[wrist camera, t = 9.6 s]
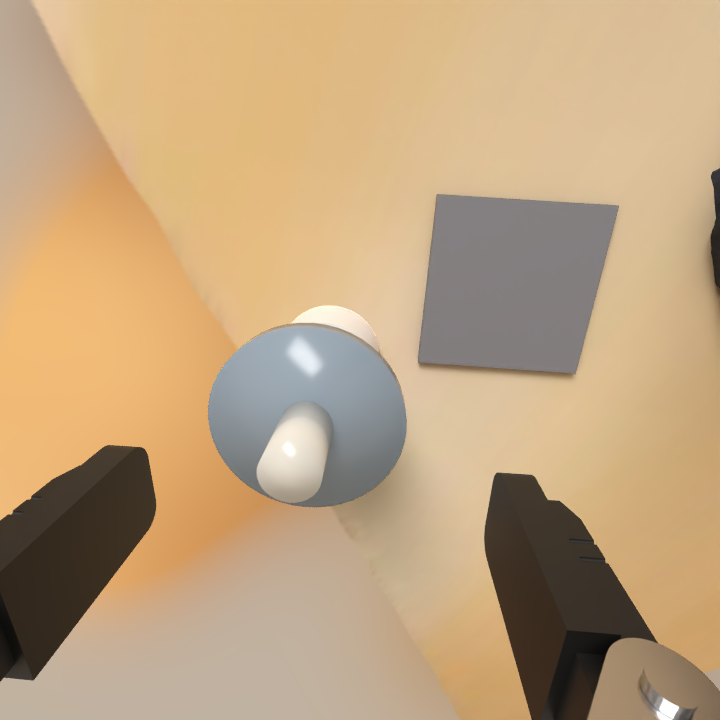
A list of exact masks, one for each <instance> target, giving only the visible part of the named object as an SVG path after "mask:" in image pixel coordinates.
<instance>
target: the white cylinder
mask: <svg viewBox="0 0 720 720" xmlns="http://www.w3.org/2000/svg"><path fill="white" fill-rule="evenodd" d="M293 323H318V324H325V325H329V326H333V327H337V328H340V329H342V330H345V331H347V332H350V333H352V334H354V335H356V336H357V337H359V338H361V339H363V340H364V341H365V342H367V343H368V344H369V345H371V346H372V347H373V348H374V349H375V350H376V351H377V352H379V345H378V341H377V337H376V335H375V333H374V332H373V330H372V328H371V326H370V325H369V324H368V323H367V322H366V321H365V320H364V319H363V318H362V317H361V316H359V315H358V314H356V313H355V312H353V311H351V310H349V309H346V308H342V307H339V306H320V307H315V308H311V309H309V310H307V311H306V312H304V313H302V314H300V315H299V316H298V317H297V318H296V319H295V320H294V321H293V322H292V323H291V324H293Z"/></svg>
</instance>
